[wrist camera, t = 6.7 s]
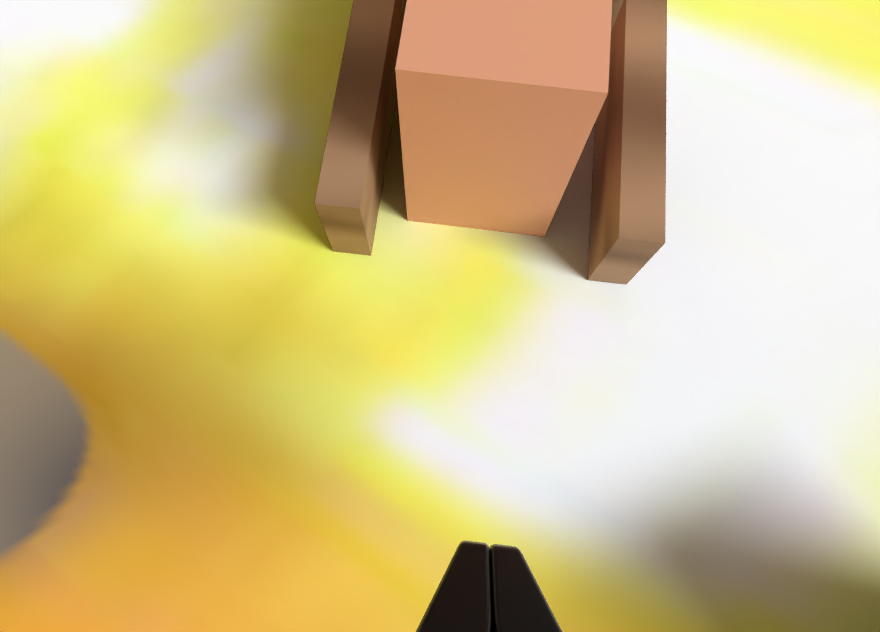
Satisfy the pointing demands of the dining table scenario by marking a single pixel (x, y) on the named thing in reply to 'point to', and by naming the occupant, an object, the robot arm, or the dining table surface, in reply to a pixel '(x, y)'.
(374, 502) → the dining table surface
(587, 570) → the dining table surface
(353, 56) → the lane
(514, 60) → the block
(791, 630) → the dining table surface
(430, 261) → the dining table surface
